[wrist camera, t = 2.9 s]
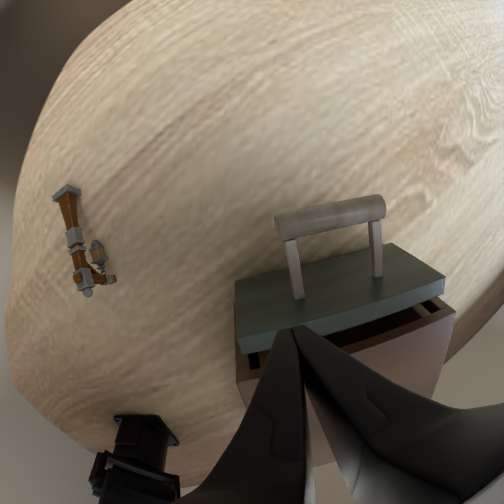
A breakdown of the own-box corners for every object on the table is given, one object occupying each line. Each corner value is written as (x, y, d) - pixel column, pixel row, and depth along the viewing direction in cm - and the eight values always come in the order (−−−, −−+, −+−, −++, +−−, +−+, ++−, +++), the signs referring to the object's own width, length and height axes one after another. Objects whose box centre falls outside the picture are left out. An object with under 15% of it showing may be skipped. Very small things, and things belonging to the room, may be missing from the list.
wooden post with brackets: (110, 297, 19) (73, 302, 15) (84, 207, 20) (49, 196, 15) (126, 289, 19) (90, 293, 14) (99, 197, 20) (64, 183, 15)
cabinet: (233, 302, 21) (235, 382, 13) (392, 262, 21) (456, 311, 13) (265, 407, 25) (276, 475, 17) (385, 373, 25) (419, 427, 17)
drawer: (217, 213, 18) (208, 244, 11) (386, 179, 18) (448, 193, 11) (266, 394, 23) (275, 452, 17) (386, 359, 23) (417, 405, 17)
